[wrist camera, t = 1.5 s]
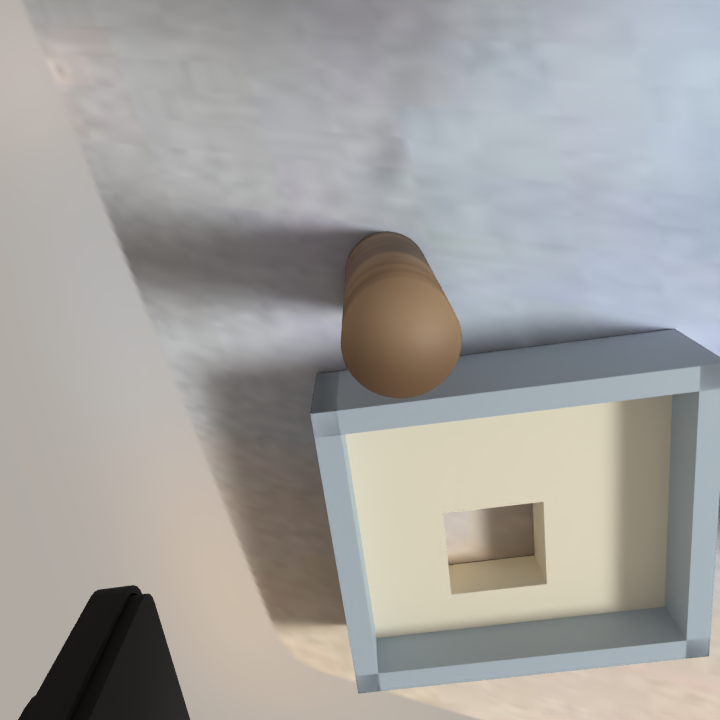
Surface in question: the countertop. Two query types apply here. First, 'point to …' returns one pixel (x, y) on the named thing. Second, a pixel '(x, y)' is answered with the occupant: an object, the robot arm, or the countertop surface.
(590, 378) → the box
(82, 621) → the robot arm
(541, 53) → the countertop surface
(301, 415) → the countertop surface
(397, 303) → the dowel
